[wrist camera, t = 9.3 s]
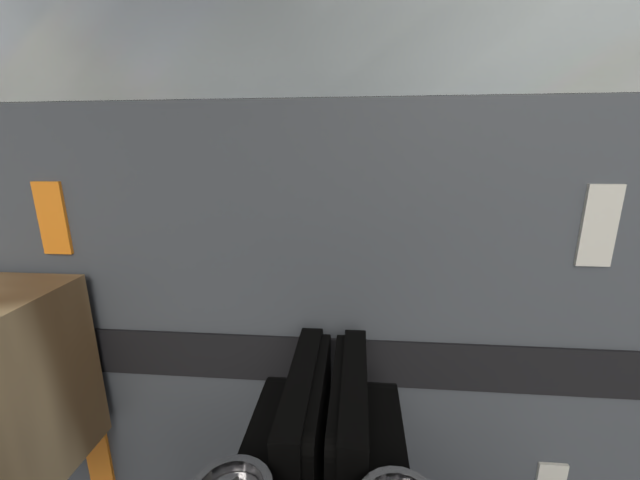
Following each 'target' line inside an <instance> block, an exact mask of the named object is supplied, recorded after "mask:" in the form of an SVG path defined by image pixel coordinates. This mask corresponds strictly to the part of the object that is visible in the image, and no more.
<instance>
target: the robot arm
mask: <svg viewBox="0 0 640 480" xmlns="http://www.w3.org/2000/svg"><path fill="white" fill-rule="evenodd" d="M193 480H428V479H427V478H426V477H424V476H423V475H421V474H419V473H418V472H416V471H414V470H411V469H410V466H409V459H408V453H407V446H406V440H405V433H404V426H403V420H402V413H401V407H400V400H399V393H398V387H397V384H396V383H378V382H367V355H366V330H345V335H337V338H336V346H335V355H334V364H333V372H332V381H331V335H330V334H323V329H320V328H302V330H301V333H300V336H299V340H298V343H297V346H296V349H295V353H294V356H293V359H292V363H291V366H290V369H289V373H288V376H287V378H286V377H268V378H267V379H266V381H265V384H264V386H263V389H262V391H261V394H260V396H259V399H258V402H257V404H256V407H255V409H254V412H253V415H252V417H251V420H250V422H249V425H248V428H247V430H246V433H245V435H244V438H243V441H242V443H241V446H240V448H239V451H238V453H237V454H235V455H229V456H224V457H222V458H219V459H217V460H215V461H212V462H211V463H210V464H208V465H207V466H205V467H204V468H203V469H201V471H200V472H199V473H198V474H197V475H196V476H195V477H194V479H193Z"/></svg>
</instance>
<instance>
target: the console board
mask: <svg viewBox="0 0 640 480" xmlns="http://www.w3.org/2000/svg"><path fill="white" fill-rule="evenodd" d="M0 272H16V273H52V274H85V280H86V285H87V291H88V297H89V302H90V308H91V313H92V319H93V325H94V330H95V336H96V342H97V347H98V353H99V358H100V364H101V370H102V375H103V381H104V387H105V392H106V398H107V403H108V409H109V415H110V420H111V426H112V427H111V429H110V430H109V431H108V432H107V433H106V435H105V436H104V437H103V438H102V439H101V441H100V442H99V443H98V444H97V445H96V446H95V448H94V449H93V450H92V451H91V452H90V454H89V455H88V456H87V457H86V458H85V460H84V461H83V462H82V463H81V464H80V465H79V467H78V468H77V469H76V470H75V471H74V473H73V474H72V475H71V476H70V477H69V479H68V480H193V479H194V477H195V476H196V475H197V474H198V473H199V472H200V471H201V469H203V468H204V467H205V466H207V465H208V464H210V463H211V462H212V461H215V460H217V459H219V458H222V457H224V456H229V455H235V454H237V453H238V451H239V448H240V446H241V443H242V441H243V438H244V435H245V433H246V430H247V428H248V425H249V422H250V420H251V417H252V415H253V412H254V409H255V407H256V404H257V402H258V399H259V396H260V394H261V391H262V389H263V386H264V384H265V381H266V379H267V378H268V377H286V378H287V376H288V373H289V369H290V366H291V363H292V359H293V356H294V353H295V349H296V346H297V343H298V340H299V336H300V333H301V330H302V328H320V329H323V334H330V335H331V381H332V372H333V364H334V355H335V346H336V338H337V335H345V330H366V355H367V382H378V383H396V384H397V387H398V393H399V400H400V407H401V413H402V420H403V426H404V433H405V440H406V446H407V453H408V459H409V466H410V469H411V470H414V471H416V472H418V473H419V474H421V475H423V476H424V477H426V478H427V479H428V480H640V92H617V93H554V94H491V95H427V96H364V97H301V98H237V99H174V100H110V101H47V102H0Z"/></svg>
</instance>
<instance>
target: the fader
mask: <svg viewBox="0 0 640 480" xmlns="http://www.w3.org/2000/svg"><path fill="white" fill-rule="evenodd" d="M111 427H112V426H111V420H110V415H109V409H108V403H107V398H106V392H105V387H104V381H103V375H102V370H101V364H100V358H99V353H98V347H97V342H96V336H95V330H94V325H93V319H92V313H91V308H90V302H89V297H88V291H87V285H86V280H85V274H52V273H16V272H0V480H68V479H69V477H70V476H71V475H72V474H73V473H74V471H75V470H76V469H77V468H78V467H79V465H80V464H81V463H82V462H83V461H84V460H85V458H86V457H87V456H88V455H89V454H90V452H91V451H92V450H93V449H94V448H95V446H96V445H97V444H98V443H99V442H100V441H101V439H102V438H103V437H104V436H105V435H106V433H107V432H108V431H109V430H110V429H111Z"/></svg>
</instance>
